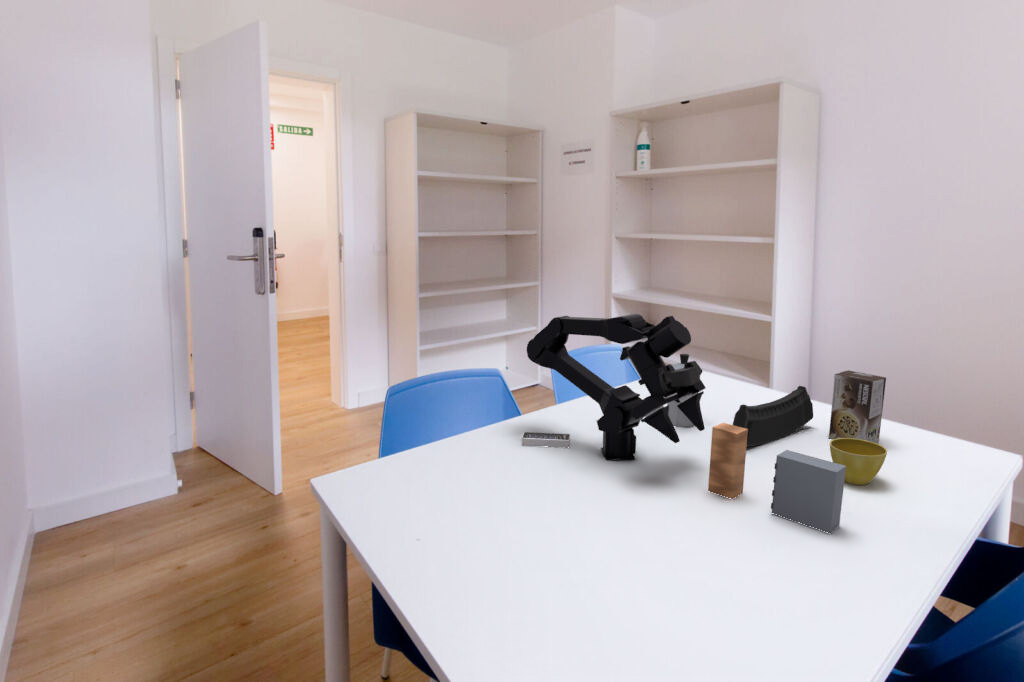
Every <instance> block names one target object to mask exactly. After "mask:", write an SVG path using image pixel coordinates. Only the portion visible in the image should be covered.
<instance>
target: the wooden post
mask: <svg viewBox="0 0 1024 682" xmlns="http://www.w3.org/2000/svg"><path fill="white" fill-rule="evenodd" d="M711 429H712V430H711V444H710V456H709V457H710V458H709V472H708V485H707V487H708V488H707V491H710V492H709V493H711V492H713V493H712V494H714V493H716V494H715V495H717V494H719V495H718V496H720V495H722V496H725V497H728V498H731V499H733V498H735V497H736V498H738V497H739V496H738V495H740V494H742V493H743V492H744V484H745V483H744V482H745V481H744V480H745V471H746V470H745V468H746V460H747V459H746V457H747V447H748V446H747V434H748V429H746V428H742V427H738V426H734V425H733V424H729V423H726V422H722V423H719V424H717V425H714V426H712V428H711ZM742 495H743V494H742ZM722 496H721V497H722ZM737 496H738V497H737ZM740 496H741V495H740ZM725 497H724V498H725ZM728 498H727V499H728ZM736 498H735V499H736ZM731 499H730V500H731ZM733 500H734V499H733Z"/></svg>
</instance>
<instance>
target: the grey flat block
mask: <svg viewBox="0 0 1024 682" xmlns="http://www.w3.org/2000/svg"><path fill="white" fill-rule="evenodd" d="M775 460H776V461H775V463H774V472H775V473H774V476H773V478H772V479H773V480H772V482H773V483H774V484H773V489H772V492H771V493H772V494H771V496H772V502H770V503H771V505H770V509H771V513H774V514H777V515H780V516H782V517H785V518H787V519H786V520H788V519H791V520H793V521H792V522H794V521H796V522H795V523H797V522H800V523H802V524H805V525H807V526H806V527H808V526H811V527H814V528H817V529H820V530H822V531H825V532H828V533H831V532H832V531H833V532H835V531H836V530H837V529H838V528H839V527H840V521H841V512H842V503H843V497H844V488H845V487H844V486H845V481H844V480H845V471H846V466H844V465H841V464H837V463H833V461H830V460H825V459H822V458H818V457H815V456H810V455H807V454H803V453H799V452H797V451H793V450H789V449H786V450H784V451H782V452H780V453H779V454H777V455H776V459H775ZM774 514H773V515H774ZM777 515H776V516H777ZM780 516H779V517H780ZM782 517H781V518H782ZM785 518H784V519H785ZM791 520H790V521H791ZM802 524H801V525H802ZM805 525H804V526H805ZM838 526H839V527H838ZM811 527H810V528H811ZM837 527H838V528H837ZM814 528H813V529H814ZM836 528H837V529H836ZM835 529H836V530H835ZM822 531H821V532H822ZM825 532H824V533H825ZM833 532H832V533H833ZM828 533H827V534H828ZM832 533H831V534H832Z"/></svg>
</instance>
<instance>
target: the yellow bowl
mask: <svg viewBox="0 0 1024 682" xmlns="http://www.w3.org/2000/svg"><path fill="white" fill-rule="evenodd" d="M829 450H830V451H829V452H830V457H831V462H833V463H837V464H841V465H844V466H846V471H845V480H844V483H847V484H851V485H856V486H857V485H858V486H864V485H868V484H870V482H871V481H873V480H874V479H875V477H877V475H878V473H879V472H880V470H881V469H882V467H883V465H884V464H885V463H884V462H885V460H886V457H887V454H888V450H887V448H886V447H884V446H882V445H881V444H876V443H873V442H870V441H866V440H861V439H853V438H838V439H830V442H829Z"/></svg>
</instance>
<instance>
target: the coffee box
mask: <svg viewBox="0 0 1024 682" xmlns="http://www.w3.org/2000/svg"><path fill="white" fill-rule="evenodd" d="M833 377H834V379H833V391H832V402H831V414H830V423H829V430H828V431H829V432H828V439H829V440H834V439H838V438H853V439H861V440H866V441H870V442H873V443H876V444H879V443H880V435H881V434H880V433H881V426H882V418H883V408H884V399H885V393H886V392H885V391H886V384H887V377H885V376H880V375H874V374H869V373H865V372H859V371H854V370H843V371H842V372H841V371H840V372H838V373H835V374H834V376H833ZM879 445H880V444H879Z"/></svg>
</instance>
